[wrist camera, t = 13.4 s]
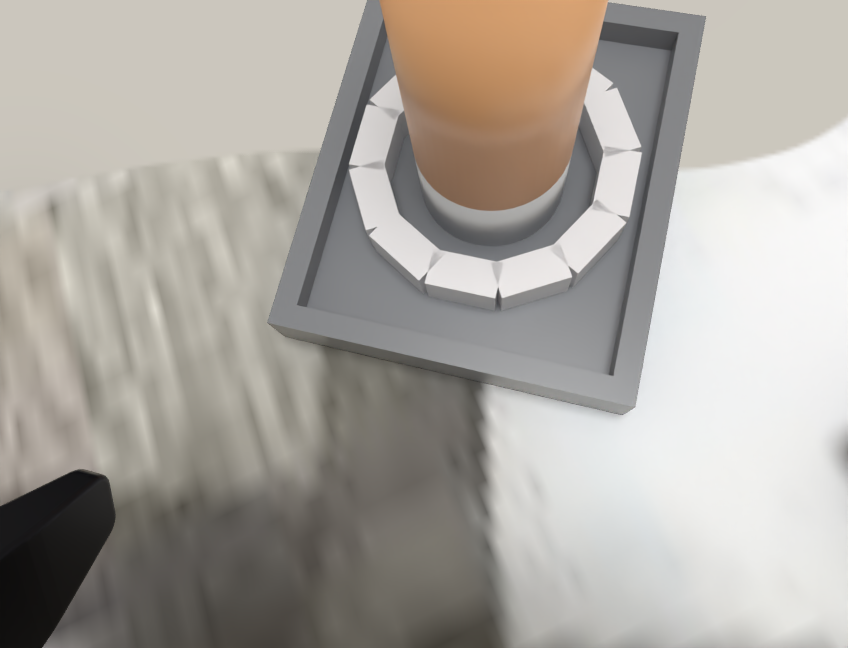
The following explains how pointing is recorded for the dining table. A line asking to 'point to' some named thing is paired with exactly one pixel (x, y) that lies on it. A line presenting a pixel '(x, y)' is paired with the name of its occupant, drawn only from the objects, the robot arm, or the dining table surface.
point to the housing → (508, 264)
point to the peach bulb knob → (493, 105)
